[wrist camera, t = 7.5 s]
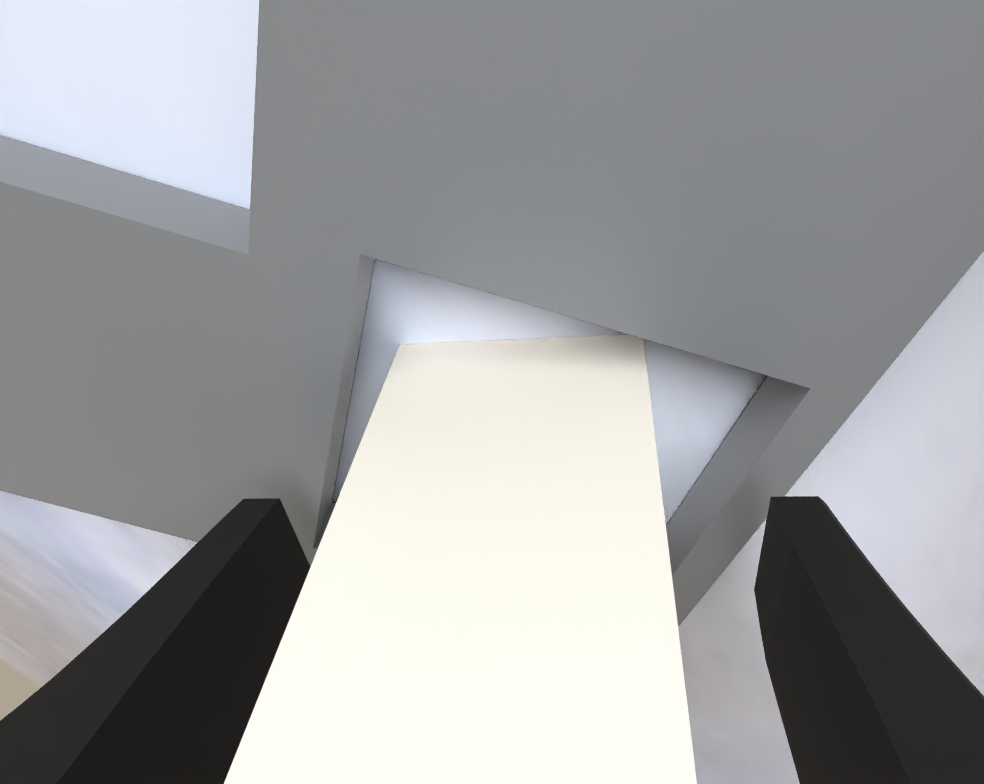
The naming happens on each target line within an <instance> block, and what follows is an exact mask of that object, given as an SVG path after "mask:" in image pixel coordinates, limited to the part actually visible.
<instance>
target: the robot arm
mask: <svg viewBox="0 0 984 784" xmlns="http://www.w3.org/2000/svg"><path fill="white" fill-rule="evenodd" d="M309 570H310V565H309V562H308V560H307V558H306V556H305V553H304V551H303V549H302V547H301V545H300V542H299V540H298V538H297V536H296V533H295V531H294V529H293V527H292V524H291V522H290V520H289V518H288V516H287V513H286V511H285V509H284V507H283V504H282V502H281V500H280V498H261V499H243V500H242V501H241V502H239V503H238V504H237V505H236V506H235V507H234V508H233V509H232V510H231V511H230V512H229V513H228V514H227V515H226V516H224V517H223V518H222V519H221V520H220V521H219V522H218V523H217V524H216V525H215V526H214V527H213V528H212V529H211V530H210V531H209V532H208V533H207V534H206V535H205V536H204V537H203V538H202V539H201V540H200V541H199V542H198V543H197V544H196V545H195V546H194V547H193V548H192V549H191V550H190V551H189V552H188V553H187V554H186V555H185V556H184V557H183V558H182V559H181V560H180V561H179V562H178V563H177V564H176V565H175V566H174V567H173V568H171V569H170V570H169V571H168V572H167V573H166V574H165V575H164V576H163V577H162V578H161V579H160V580H159V581H158V582H157V583H156V584H155V585H154V586H153V587H152V588H151V589H150V590H149V591H148V592H147V593H146V594H144V595H143V596H142V597H141V598H140V599H139V600H138V601H137V602H136V603H135V604H134V605H133V606H132V607H131V608H130V609H129V610H128V611H127V612H126V613H125V614H124V615H122V616H121V617H120V618H119V619H118V620H117V621H116V622H115V623H114V624H112V625H111V626H110V627H109V628H108V629H107V630H106V631H105V632H104V633H102V634H101V635H100V636H99V637H98V638H97V639H96V640H95V641H94V642H92V643H91V644H90V645H89V646H88V647H87V648H86V649H85V650H84V651H82V652H81V653H80V654H79V655H78V656H77V657H76V658H75V659H74V660H72V661H71V662H70V663H69V664H68V665H67V666H66V667H65V668H64V669H62V670H61V671H60V672H59V673H58V674H57V675H56V676H54V677H53V678H52V679H51V680H50V681H48V682H47V683H46V684H45V685H44V686H43V687H41V688H40V689H39V690H38V691H37V692H35V693H34V694H33V695H32V696H31V697H29V698H28V699H27V700H26V701H24V702H23V703H22V704H21V705H20V706H18V707H17V708H16V709H15V710H13V711H12V712H11V713H10V714H8V715H7V716H6V717H4V719H2V720H1V721H0V784H224V782H225V780H226V777H227V775H228V772H229V770H230V767H231V765H232V762H233V760H234V757H235V755H236V752H237V750H238V747H239V745H240V742H241V740H242V737H243V735H244V732H245V730H246V727H247V725H248V722H249V720H250V717H251V715H252V712H253V710H254V707H255V705H256V702H257V700H258V697H259V695H260V692H261V690H262V687H263V685H264V682H265V680H266V677H267V675H268V672H269V670H270V667H271V665H272V662H273V660H274V657H275V655H276V652H277V650H278V647H279V645H280V642H281V640H282V637H283V635H284V632H285V630H286V627H287V625H288V622H289V620H290V617H291V615H292V612H293V610H294V607H295V605H296V602H297V600H298V597H299V595H300V592H301V590H302V587H303V585H304V582H305V580H306V577H307V575H308V572H309ZM754 591H755V597H756V603H757V610H758V616H759V623H760V629H761V635H762V641H763V647H764V652H765V658H766V663H767V667H768V670H769V674H770V678H771V681H772V685H773V689H774V692H775V696H776V699H777V703H778V707H779V710H780V714H781V718H782V721H783V725H784V728H785V732H786V735H787V739H788V742H789V746H790V749H791V753H792V757H793V760H794V764H795V767H796V771H797V774H798V778H799V781H800V784H984V696H983V695H982V694H981V692H980V691H979V690H978V689H977V688H976V687H975V686H974V685H973V684H972V683H971V682H970V681H969V679H968V678H967V677H966V676H965V675H964V674H963V673H962V672H961V670H960V669H959V668H958V667H957V666H956V665H955V664H954V663H953V661H952V660H951V659H950V658H949V657H948V656H947V655H946V654H945V652H944V651H943V650H942V649H941V648H940V647H939V645H938V644H937V643H936V642H935V641H934V640H933V638H932V637H931V636H930V635H929V634H928V632H927V631H926V630H925V629H924V628H923V627H922V625H921V624H920V623H919V622H918V621H917V620H916V618H915V617H914V616H913V615H912V614H911V613H910V611H909V610H908V609H907V608H906V607H905V605H904V604H903V603H902V602H901V601H900V599H899V598H898V597H897V596H896V594H895V593H894V592H893V591H892V590H891V588H890V587H889V586H888V585H887V583H886V582H885V581H884V579H883V578H882V577H881V576H880V574H879V573H878V572H877V571H876V569H875V568H874V567H873V566H872V564H871V563H870V562H869V560H868V559H867V558H866V557H865V555H864V554H863V553H862V551H861V550H860V549H859V547H858V546H857V545H856V544H855V542H854V541H853V540H852V538H851V537H850V536H849V534H848V533H847V532H846V530H845V529H844V528H843V526H842V525H841V524H840V522H839V521H838V519H837V518H836V517H835V515H834V514H833V513H832V511H831V510H830V509H829V507H828V506H827V504H826V503H825V502H824V501H823V500H822V499H821V498H819V497H818V496H813V497H771V498H770V503H769V509H768V515H767V520H766V526H765V532H764V537H763V543H762V549H761V555H760V560H759V566H758V572H757V577H756V583H755V589H754Z"/></svg>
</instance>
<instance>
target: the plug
mask: <svg viewBox="0 0 984 784" xmlns="http://www.w3.org/2000/svg"><path fill="white" fill-rule="evenodd" d="M224 784H697V780H696V772H695V763H694V755H693V747H692V739H691V730H690V722H689V714H688V705H687V697H686V689H685V681H684V672H683V664H682V656H681V647H680V639H679V631H678V623H677V614H676V606H675V598H674V589H673V581H672V573H671V565H670V556H669V548H668V540H667V531H666V523H665V515H664V507H663V498H662V490H661V482H660V473H659V465H658V457H657V448H656V440H655V432H654V424H653V415H652V407H651V399H650V390H649V382H648V374H647V366H646V357H645V349H644V341H643V338H640V337H636V336H633V335H629V334H627V335H603V336H580V337H556V338H533V339H509V340H486V341H463V342H439V343H416V344H400V345H399V347H398V350H397V352H396V355H395V357H394V360H393V362H392V365H391V367H390V370H389V372H388V375H387V377H386V380H385V382H384V385H383V387H382V390H381V392H380V395H379V397H378V400H377V402H376V405H375V407H374V410H373V412H372V415H371V417H370V420H369V422H368V425H367V427H366V430H365V432H364V435H363V437H362V440H361V442H360V445H359V447H358V450H357V452H356V455H355V457H354V460H353V462H352V465H351V467H350V470H349V472H348V475H347V477H346V480H345V482H344V485H343V487H342V490H341V492H340V495H339V497H338V500H337V502H336V505H335V507H334V510H333V512H332V515H331V517H330V520H329V522H328V525H327V527H326V530H325V532H324V535H323V537H322V540H321V542H320V545H319V547H318V550H317V552H316V555H315V557H314V560H313V562H312V565H311V567H310V570H309V572H308V575H307V577H306V580H305V582H304V585H303V587H302V590H301V592H300V595H299V597H298V600H297V602H296V605H295V607H294V610H293V612H292V615H291V617H290V620H289V622H288V625H287V627H286V630H285V632H284V635H283V637H282V640H281V642H280V645H279V647H278V650H277V652H276V655H275V657H274V660H273V662H272V665H271V667H270V670H269V672H268V675H267V677H266V680H265V682H264V685H263V687H262V690H261V692H260V695H259V697H258V700H257V702H256V705H255V707H254V710H253V712H252V715H251V717H250V720H249V722H248V725H247V727H246V730H245V732H244V735H243V737H242V740H241V742H240V745H239V747H238V750H237V752H236V755H235V757H234V760H233V762H232V765H231V767H230V770H229V772H228V775H227V777H226V780H225V782H224Z"/></svg>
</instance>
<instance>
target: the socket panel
mask: <svg viewBox="0 0 984 784" xmlns="http://www.w3.org/2000/svg"><path fill="white" fill-rule="evenodd" d="M983 251H984V0H259V23H258V46H257V68H256V91H255V114H254V136H253V159H252V182H251V204H250V210H249V209H245V208H242V207H239V206H235V205H232V204H229V203H225V202H222V201H219V200H215V199H212V198H209V197H205V196H202V195H199V194H195V193H192V192H189V191H185V190H182V189H179V188H175V187H172V186H169V185H165V184H162V183H159V182H155V181H152V180H149V179H145V178H142V177H139V176H135V175H132V174H128V173H125V172H122V171H118V170H115V169H112V168H108V167H105V166H102V165H98V164H95V163H92V162H88V161H85V160H82V159H78V158H75V157H72V156H68V155H65V154H62V153H58V152H55V151H52V150H48V149H45V148H42V147H38V146H35V145H32V144H28V143H25V142H22V141H18V140H15V139H12V138H8V137H5V136H1V135H0V491H4V492H8V493H12V494H16V495H20V496H23V497H27V498H31V499H35V500H39V501H43V502H46V503H50V504H54V505H58V506H62V507H66V508H69V509H73V510H77V511H81V512H85V513H89V514H93V515H96V516H100V517H104V518H108V519H112V520H116V521H119V522H123V523H127V524H131V525H135V526H139V527H142V528H146V529H150V530H154V531H158V532H162V533H166V534H169V535H173V536H177V537H181V538H185V539H189V540H192V541H196V542H199V541H200V540H201V539H202V538H203V537H204V536H205V535H206V534H207V533H208V532H209V531H210V530H211V529H212V528H213V527H214V526H215V525H216V524H217V523H218V522H219V521H220V520H221V519H222V518H223V517H224V516H226V515H227V514H228V513H229V512H230V511H231V510H232V509H233V508H234V507H235V506H236V505H237V504H238V503H239V502H241V501H242V500H243V499H261V498H280V500H281V502H282V504H283V507H284V509H285V511H286V513H287V516H288V518H289V520H290V522H291V524H292V527H293V529H294V531H295V533H296V536H297V538H298V540H299V542H300V545H301V547H302V549H303V551H304V553H305V556H306V558H307V560H308V562H309V565H310V567H311V565H312V562H313V560H314V557H315V555H316V552H317V550H318V547H319V545H320V542H321V540H322V537H323V535H324V532H325V530H326V527H327V525H328V522H329V520H330V517H331V515H332V512H333V510H334V507H335V505H336V503H332V498H333V493H334V487H335V481H336V476H337V470H338V465H339V459H340V453H341V448H342V442H343V437H344V431H345V425H346V420H347V414H348V408H349V403H350V397H351V392H352V386H353V380H354V375H355V369H356V363H357V358H358V352H359V347H360V341H361V335H362V330H363V324H364V319H365V313H366V307H367V302H368V296H369V290H370V285H371V279H372V274H373V268H374V262H375V259H378V260H381V261H384V262H388V263H391V264H395V265H398V266H401V267H405V268H408V269H411V270H415V271H418V272H421V273H425V274H428V275H431V276H435V277H438V278H442V279H445V280H448V281H452V282H455V283H458V284H462V285H465V286H468V287H472V288H475V289H478V290H482V291H485V292H488V293H492V294H495V295H499V296H502V297H505V298H509V299H512V300H515V301H519V302H522V303H525V304H529V305H532V306H535V307H539V308H542V309H546V310H549V311H552V312H556V313H559V314H562V315H566V316H569V317H572V318H576V319H579V320H582V321H586V322H589V323H593V324H596V325H599V326H603V327H606V328H609V329H613V330H616V331H619V332H623V333H626V334H629V335H633V336H636V337H640V338H643V339H646V340H650V341H653V342H656V343H660V344H663V345H666V346H670V347H673V348H676V349H680V350H683V351H687V352H690V353H693V354H697V355H700V356H703V357H707V358H710V359H713V360H717V361H720V362H723V363H727V364H730V365H734V366H737V367H740V368H744V369H747V370H750V371H754V372H757V373H760V374H764V375H767V377H766V379H765V380H764V382H763V383H762V385H761V386H760V388H759V389H758V391H757V392H756V394H755V395H754V397H753V398H752V400H751V401H750V403H749V404H748V405H747V407H746V408H745V410H744V411H743V413H742V414H741V416H740V417H739V419H738V420H737V422H736V423H735V425H734V426H733V428H732V429H731V431H730V432H729V434H728V435H727V437H726V438H725V440H724V441H723V443H722V444H721V445H720V447H719V448H718V450H717V451H716V453H715V454H714V456H713V457H712V459H711V460H710V462H709V463H708V465H707V466H706V468H705V469H704V471H703V472H702V474H701V475H700V477H699V478H698V480H697V481H696V483H695V484H694V486H693V487H692V488H691V490H690V491H689V493H688V494H687V496H686V497H685V499H684V500H683V502H682V503H681V505H680V506H679V508H678V509H677V511H676V512H675V514H674V515H673V517H672V518H671V520H670V521H669V523H668V524H667V526H666V531H667V540H668V548H669V556H670V565H671V573H672V581H673V589H674V598H675V606H676V614H677V623H678V626H679V625H680V624H681V623H682V621H683V620H684V619H685V618H686V616H687V615H688V614H689V613H690V612H691V610H692V609H693V608H694V607H695V605H696V604H697V603H698V602H699V600H700V599H701V598H702V597H703V596H704V594H705V593H706V592H707V591H708V589H709V588H710V587H711V586H712V584H713V583H714V582H715V581H716V580H717V578H718V577H719V576H720V575H721V573H722V572H723V571H724V570H725V568H726V567H727V566H728V565H729V563H730V562H731V561H732V560H733V559H734V557H735V556H736V555H737V554H738V552H739V551H740V550H741V549H742V547H743V546H744V545H745V544H746V543H747V541H748V540H749V539H750V538H751V536H752V535H753V534H754V533H755V531H756V530H757V529H758V528H759V527H760V525H761V524H762V523H763V522H764V520H765V519H766V518H767V515H768V509H769V503H770V498H771V497H784V496H785V495H786V493H787V492H788V491H789V490H790V488H791V487H792V486H793V485H794V483H795V482H796V481H797V480H798V479H799V477H800V476H801V475H802V474H803V472H804V471H805V470H806V469H807V467H808V466H809V465H810V464H811V463H812V461H813V460H814V459H815V458H816V456H817V455H818V454H819V453H820V451H821V450H822V449H823V448H824V447H825V445H826V444H827V443H828V442H829V440H830V439H831V438H832V437H833V435H834V434H835V433H836V432H837V431H838V429H839V428H840V427H841V426H842V424H843V423H844V422H845V421H846V419H847V418H848V417H849V416H850V414H851V413H852V412H853V411H854V410H855V408H856V407H857V406H858V405H859V403H860V402H861V401H862V400H863V398H864V397H865V396H866V395H867V394H868V392H869V391H870V390H871V389H872V387H873V386H874V385H875V384H876V382H877V381H878V380H879V379H880V378H881V376H882V375H883V374H884V373H885V371H886V370H887V369H888V368H889V366H890V365H891V364H892V363H893V362H894V360H895V359H896V358H897V357H898V355H899V354H900V353H901V352H902V350H903V349H904V348H905V347H906V346H907V344H908V343H909V342H910V341H911V339H912V338H913V337H914V336H915V334H916V333H917V332H918V331H919V330H920V328H921V327H922V326H923V325H924V323H925V322H926V321H927V320H928V318H929V317H930V316H931V315H932V314H933V312H934V311H935V310H936V309H937V307H938V306H939V305H940V304H941V302H942V301H943V300H944V299H945V298H946V296H947V295H948V294H949V293H950V291H951V290H952V289H953V288H954V286H955V285H956V284H957V283H958V282H959V280H960V279H961V278H962V277H963V275H964V274H965V273H966V272H967V270H968V269H969V268H970V267H971V265H972V264H973V263H974V262H975V261H976V259H977V258H978V257H979V256H980V254H981V253H982V252H983Z"/></svg>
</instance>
